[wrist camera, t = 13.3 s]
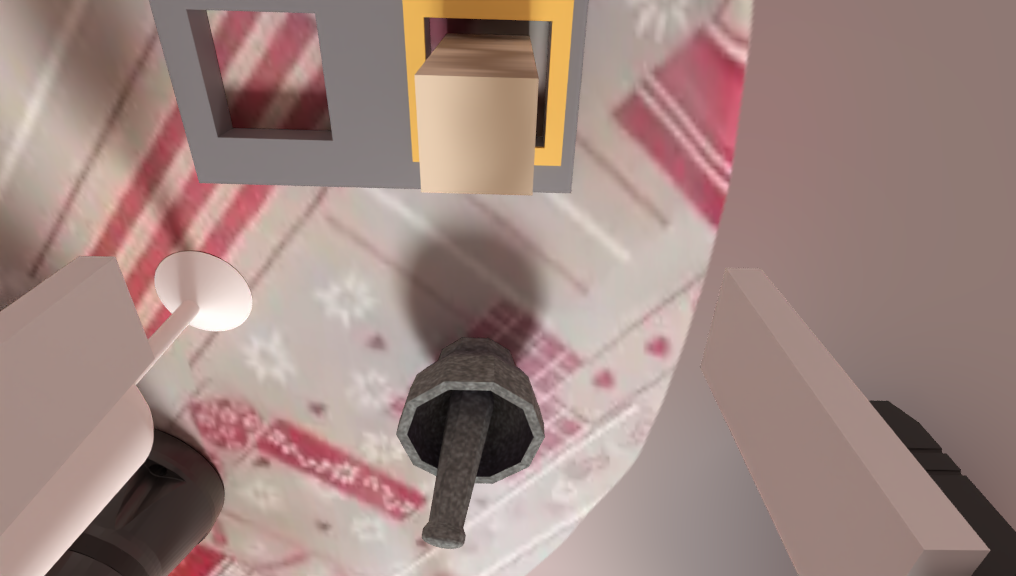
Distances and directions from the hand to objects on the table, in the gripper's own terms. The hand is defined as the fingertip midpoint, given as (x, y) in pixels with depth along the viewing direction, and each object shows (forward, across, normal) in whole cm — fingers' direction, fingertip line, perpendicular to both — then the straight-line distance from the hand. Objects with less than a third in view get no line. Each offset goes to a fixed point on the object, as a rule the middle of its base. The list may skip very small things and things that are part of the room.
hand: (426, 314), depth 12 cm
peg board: (+23, -5, +1) cm, 23 cm away
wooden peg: (+23, +1, +1) cm, 23 cm away
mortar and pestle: (+23, 0, -21) cm, 31 cm away
